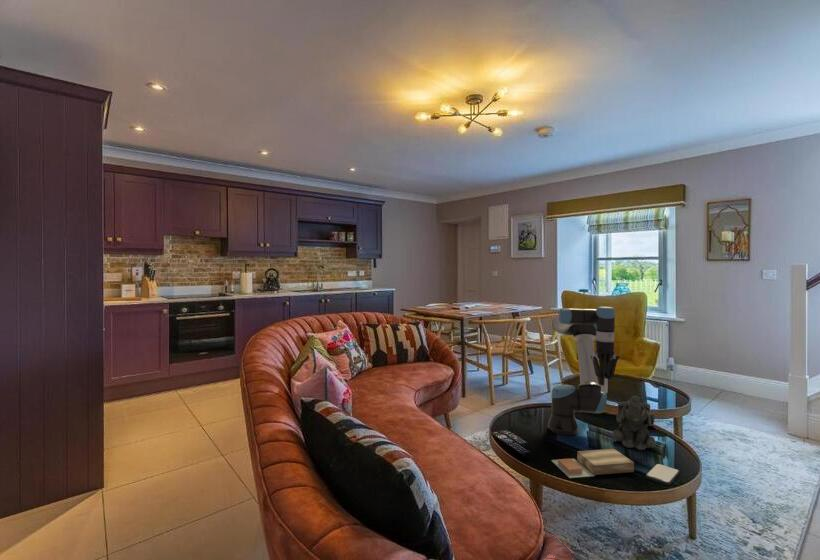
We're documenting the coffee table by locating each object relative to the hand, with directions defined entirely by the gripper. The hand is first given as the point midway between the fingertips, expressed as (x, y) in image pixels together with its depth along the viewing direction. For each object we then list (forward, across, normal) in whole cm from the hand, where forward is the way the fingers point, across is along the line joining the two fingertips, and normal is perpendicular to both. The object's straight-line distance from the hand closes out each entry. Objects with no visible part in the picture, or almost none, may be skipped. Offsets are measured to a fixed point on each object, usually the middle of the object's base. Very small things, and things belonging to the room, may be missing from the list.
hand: (604, 391), depth 182 cm
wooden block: (+29, -6, -9) cm, 31 cm away
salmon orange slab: (+27, -22, -10) cm, 36 cm away
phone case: (+30, +14, -20) cm, 38 cm away
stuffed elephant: (+30, +23, +10) cm, 39 cm away
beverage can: (+30, +42, +26) cm, 58 cm away
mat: (+29, -21, -9) cm, 37 cm away
